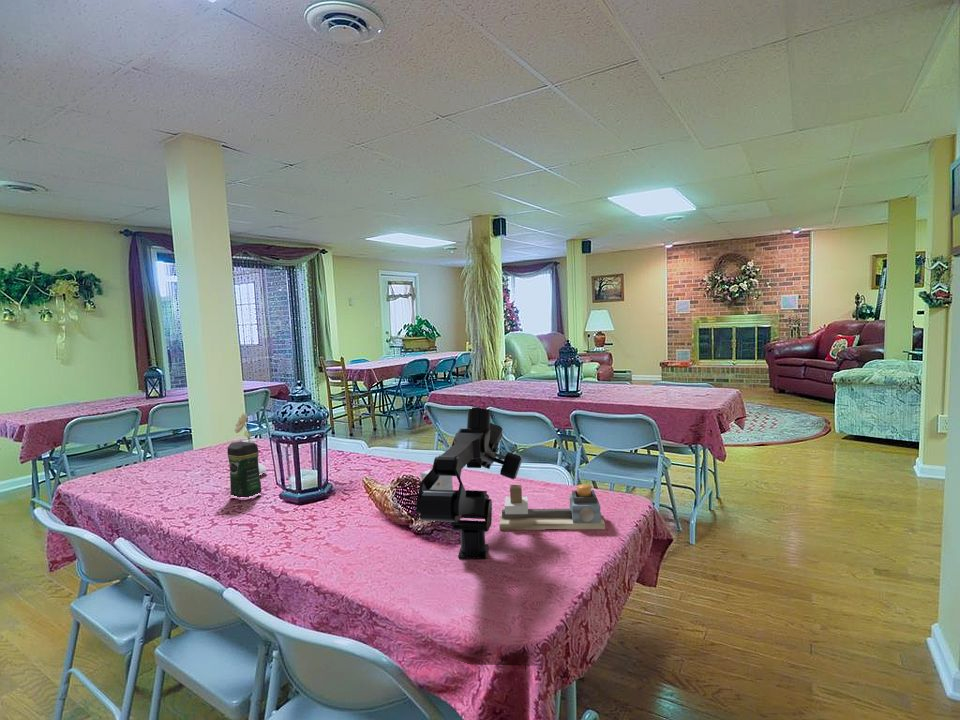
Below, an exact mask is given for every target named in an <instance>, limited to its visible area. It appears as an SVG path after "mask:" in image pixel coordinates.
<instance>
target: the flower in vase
mask: <svg viewBox="0 0 960 720" xmlns="http://www.w3.org/2000/svg"><path fill="white" fill-rule="evenodd" d="M247 419H248V414H247V413H246V412H245V413H242V414H241V416H240V417H238V421H237V423H236V424H235V429H234V432H235V433H236V434H238V433H240V432H241V431H242V430H243V429H244V428H246V429H247V430H245V431H244V432H243V435H244V436H245V437H246V438H247V439H246V440H245V439H244V440H241V441H242V442H249V443H255V444H256V441H257V439H251V437H252V435H251V432H250V430H249V428H248V426H247V424H246V423H247ZM258 465H259V474H260V473H263V472H265V471H266V470H267V471H268V468H267V467H266V466H265V465H263V464H262V463H260V462H258Z"/></svg>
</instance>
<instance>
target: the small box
mask: <svg viewBox="0 0 960 720" xmlns="http://www.w3.org/2000/svg"><path fill="white" fill-rule="evenodd" d="M431 470H432V468H431V469H428V470H425V471H422V472H421V473H420V476H421V477H420V479H421V482H422V480H423V479H424V478H425V477H426V476H427V474H428V473H429V472H430V471H431ZM453 486H454V485H453V476H439V479H438V480H437V481H436V482H435V484H434V485H433V486H432V487H431V488H430V489H431V490H454V487H453Z"/></svg>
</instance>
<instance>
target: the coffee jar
mask: <svg viewBox="0 0 960 720" xmlns="http://www.w3.org/2000/svg"><path fill="white" fill-rule="evenodd" d="M242 441H243V440H239V441H234V442H232V443H229V445H228V446H227V458H228V464H229V479H230V480H229V481H230V496H231V495H234V496H237V497H249V496H253V495H255V494H258V493H260V492H261V491H262V483H261V476H260V475H259V465H258V463H259V447H258V444H257V443H256V442H255V443H249V442H242Z"/></svg>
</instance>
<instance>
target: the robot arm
mask: <svg viewBox="0 0 960 720" xmlns="http://www.w3.org/2000/svg"><path fill="white" fill-rule="evenodd" d="M466 423H467V424H466V428H459V430H458V431H457V432H455V434H454V437H453V439H452V443H451V447H450V448H449V449H447V450H446V451H445V452H443V453H442V454H441V455H438V456H435V457H434V459H433V464H432V468H431V469H432V470H431V471H430V472H429V473H428V474H427V476H426V477H425V478H424V479H423V480H422V481H421V482H420V484H419V488H418V493H417V497H416V503H415V508H416V510H415V511H416V513H417V514H418V515H419V518H420V520H421V521H428V522H444V523H445V522H448V523H450V522H451V529H452V531H460V548H459V551H458V557H457V558H458V559H487V556H488V549H489V544H488V543H487V544H486V534H485V533H487V532H488V531H489V530H490V527H491V526H492V521H493V520H492V519H493V515H492V514H493V501H492V499H491V498H490V495H489V494H487V493H488V491H487V490H476V489H475V490H468V489H466V488H465V486H464V484H463V481H462V479H461V475H462V470H463V468H464V467H467V468H469V469H481V468H485V469H488V470H490V468H491V467H492V465H493V464H494V463H497V464H500V465H502V466H501V468H500V473H499V475H501V476H503V477H505V478H508V479H510V480H515V479H516V478H517V476H518V474H519V470H520V467H521V465H522V462H523V459H522V456H520V455H518V454H515V453H513V452H509V451H508V452H507V453H506V454H505V455H502V454H499V453H498V451H499V449H500V448H499V445H500V442H501V441H502V439H503V427H502V426H501V425H498V424H495V423H491V409H486V408H480V406H479V407H477V406H476V407H473V406H472V407H471V408H469V409H468V410H467V422H466ZM439 476H452V477H456V478H457V479H456V480H457V481H458V484H459V486H458V489H457V490H456V489H453V490H431V489H430V488H431V487H432V486H433V485H434V484H435V482H436V481H437V480H438V479H439ZM468 519H469V520H468ZM470 519H472V520H470ZM473 519H474V520H473ZM475 519H476V520H475Z"/></svg>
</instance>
